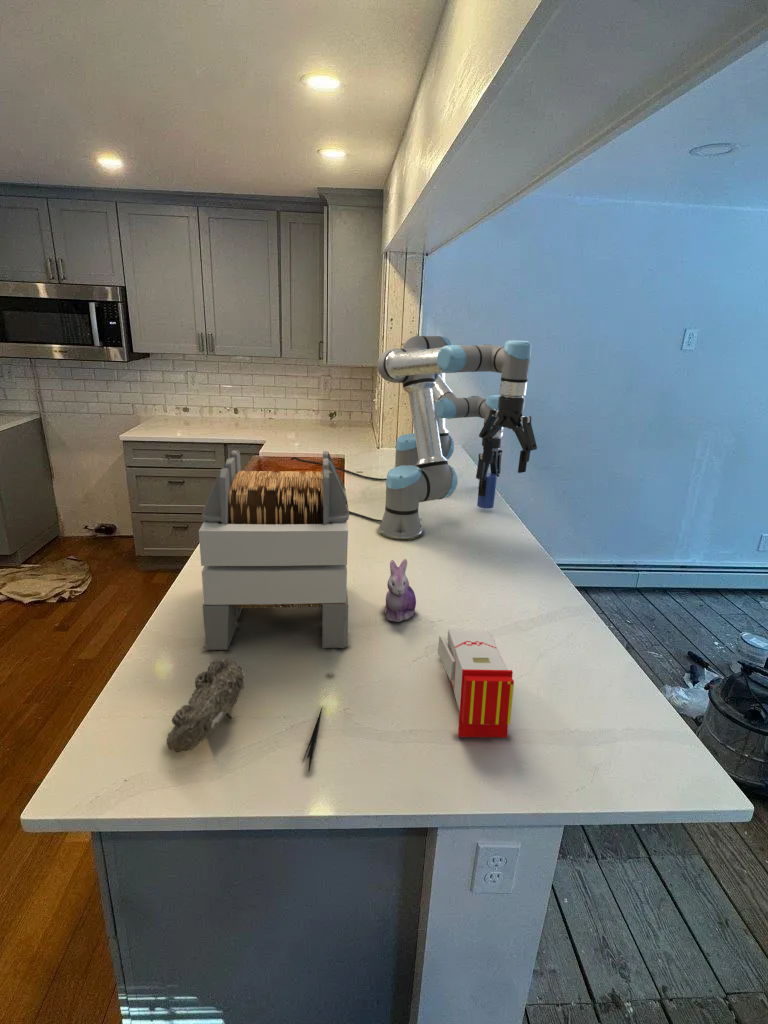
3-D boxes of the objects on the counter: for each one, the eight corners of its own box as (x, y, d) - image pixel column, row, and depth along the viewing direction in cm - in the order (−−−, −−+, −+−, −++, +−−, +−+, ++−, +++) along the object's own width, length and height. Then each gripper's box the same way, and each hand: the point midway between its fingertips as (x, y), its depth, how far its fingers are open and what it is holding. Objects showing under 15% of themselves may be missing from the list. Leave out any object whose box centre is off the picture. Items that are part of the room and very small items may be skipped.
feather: (331, 679, 122) (336, 673, 122) (307, 777, 96) (313, 769, 95) (324, 675, 122) (329, 669, 121) (298, 772, 95) (304, 764, 95)
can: (484, 502, 231) (487, 471, 227) (496, 506, 226) (500, 475, 222) (473, 505, 227) (476, 474, 223) (486, 509, 222) (489, 478, 218)
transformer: (226, 583, 159) (217, 441, 145) (342, 582, 163) (345, 443, 149) (203, 652, 127) (189, 478, 114) (348, 648, 131) (352, 480, 117)
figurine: (392, 627, 141) (395, 572, 136) (374, 608, 149) (376, 556, 144) (425, 619, 145) (429, 566, 140) (405, 601, 154) (408, 550, 149)
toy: (488, 613, 130) (523, 677, 101) (484, 667, 133) (517, 744, 104) (435, 612, 130) (455, 676, 101) (432, 666, 133) (451, 743, 103)
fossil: (192, 660, 117) (244, 628, 112) (224, 691, 120) (276, 661, 115) (142, 746, 98) (202, 712, 93) (182, 779, 101) (242, 748, 96)
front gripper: (556, 401, 158) (545, 475, 165) (488, 389, 176) (481, 456, 183) (539, 403, 153) (529, 478, 160) (471, 390, 172) (465, 459, 179)
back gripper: (487, 441, 208) (480, 501, 216) (514, 434, 222) (507, 491, 229) (469, 438, 213) (464, 496, 220) (497, 431, 226) (491, 486, 234)
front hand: (503, 466), depth 172 cm, fingers open, 13 cm apart
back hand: (486, 493), depth 225 cm, fingers closed on can, 6 cm apart
